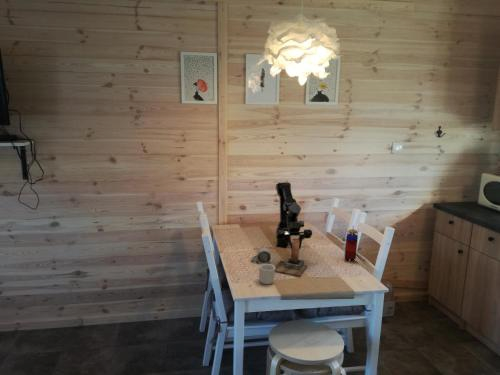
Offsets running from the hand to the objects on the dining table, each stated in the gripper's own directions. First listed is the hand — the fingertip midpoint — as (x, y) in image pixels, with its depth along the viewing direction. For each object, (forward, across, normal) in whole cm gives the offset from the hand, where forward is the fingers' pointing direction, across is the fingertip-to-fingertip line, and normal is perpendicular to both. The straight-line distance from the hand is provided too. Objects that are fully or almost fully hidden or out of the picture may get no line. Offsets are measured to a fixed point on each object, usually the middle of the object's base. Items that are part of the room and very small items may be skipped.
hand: (295, 248), depth 208 cm
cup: (+18, -17, -1) cm, 25 cm away
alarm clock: (-1, +34, +18) cm, 38 cm away
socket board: (+8, -3, +8) cm, 12 cm away
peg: (+4, 0, +6) cm, 7 cm away
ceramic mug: (+1, -16, +16) cm, 23 cm away
